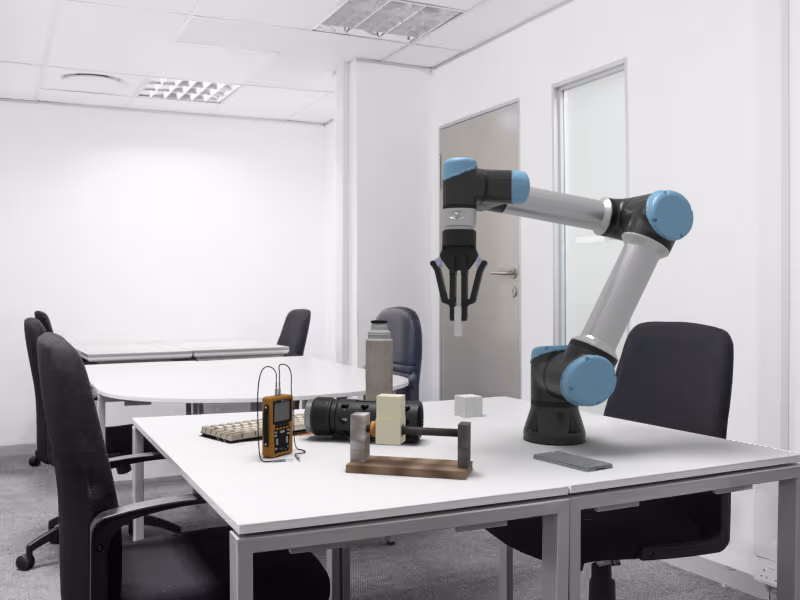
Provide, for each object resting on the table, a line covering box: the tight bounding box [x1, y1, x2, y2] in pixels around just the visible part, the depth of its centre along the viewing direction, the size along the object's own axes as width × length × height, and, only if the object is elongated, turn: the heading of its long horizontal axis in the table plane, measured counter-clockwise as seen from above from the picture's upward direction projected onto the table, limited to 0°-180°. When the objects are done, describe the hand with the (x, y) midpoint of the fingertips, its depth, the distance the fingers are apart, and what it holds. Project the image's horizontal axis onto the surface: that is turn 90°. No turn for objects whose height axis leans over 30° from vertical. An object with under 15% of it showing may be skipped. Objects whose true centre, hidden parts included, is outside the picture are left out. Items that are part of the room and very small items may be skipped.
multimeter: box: [256, 363, 306, 463], centre depth 170 cm, size 15×10×20 cm
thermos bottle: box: [364, 319, 394, 400], centre depth 228 cm, size 8×8×28 cm
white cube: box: [453, 393, 484, 419], centre depth 230 cm, size 6×6×6 cm
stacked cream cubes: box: [375, 393, 406, 446], centre depth 159 cm, size 5×5×10 cm
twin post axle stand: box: [345, 412, 474, 480], centre depth 158 cm, size 24×10×11 cm, turn 77°
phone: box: [532, 450, 613, 473], centre depth 166 cm, size 8×16×1 cm, turn 34°
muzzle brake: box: [303, 396, 425, 443], centre depth 190 cm, size 10×28×10 cm, turn 78°
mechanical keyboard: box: [198, 413, 314, 446], centre depth 202 cm, size 38×19×3 cm, turn 135°
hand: (458, 335), depth 173 cm, fingers closed
